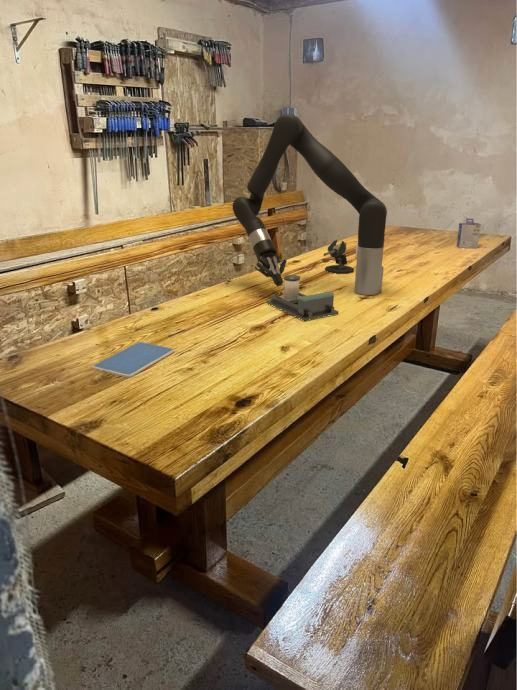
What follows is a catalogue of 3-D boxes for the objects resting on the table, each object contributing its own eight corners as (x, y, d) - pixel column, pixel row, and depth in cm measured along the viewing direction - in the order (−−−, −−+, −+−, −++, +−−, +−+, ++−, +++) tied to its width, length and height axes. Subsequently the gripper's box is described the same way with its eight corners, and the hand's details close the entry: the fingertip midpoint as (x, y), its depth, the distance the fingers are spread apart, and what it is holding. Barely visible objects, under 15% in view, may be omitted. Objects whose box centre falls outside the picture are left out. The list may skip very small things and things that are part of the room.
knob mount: (299, 297, 194) (299, 279, 192) (338, 314, 177) (339, 294, 175) (266, 303, 188) (266, 285, 185) (303, 321, 170) (304, 301, 168)
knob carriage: (294, 296, 191) (295, 273, 188) (304, 301, 186) (305, 277, 183) (278, 299, 187) (278, 276, 184) (287, 304, 182) (288, 280, 179)
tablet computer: (129, 380, 131) (129, 375, 130) (90, 370, 136) (90, 365, 136) (176, 353, 147) (176, 348, 146) (139, 345, 152) (139, 340, 152)
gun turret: (312, 274, 226) (313, 243, 221) (333, 265, 241) (335, 236, 236) (339, 279, 219) (341, 247, 215) (359, 269, 235) (361, 239, 230)
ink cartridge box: (474, 246, 284) (478, 218, 279) (478, 248, 279) (482, 219, 273) (455, 246, 284) (459, 218, 279) (459, 248, 279) (463, 219, 274)
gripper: (250, 240, 190) (268, 281, 184) (281, 236, 196) (299, 277, 191) (242, 252, 196) (260, 293, 191) (273, 248, 202) (290, 288, 197)
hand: (280, 285), depth 191 cm, fingers closed
